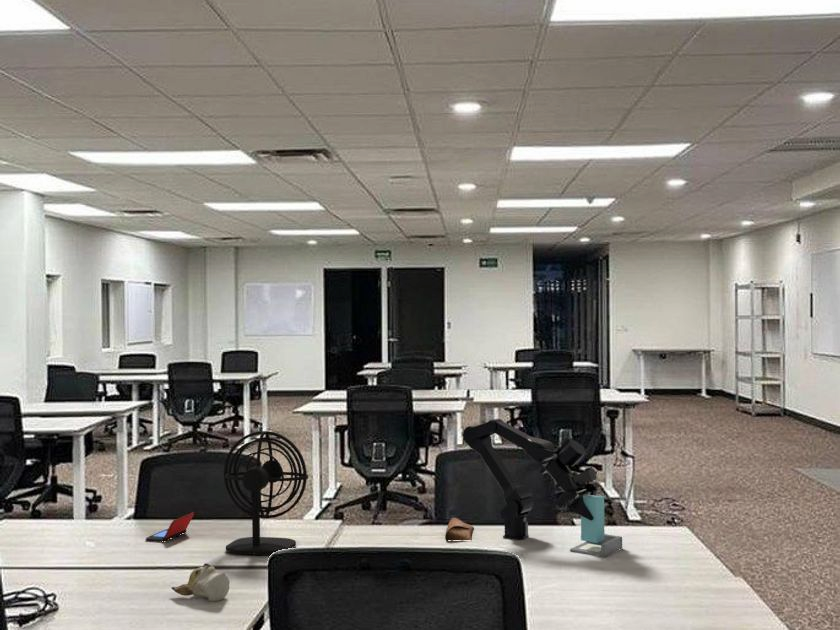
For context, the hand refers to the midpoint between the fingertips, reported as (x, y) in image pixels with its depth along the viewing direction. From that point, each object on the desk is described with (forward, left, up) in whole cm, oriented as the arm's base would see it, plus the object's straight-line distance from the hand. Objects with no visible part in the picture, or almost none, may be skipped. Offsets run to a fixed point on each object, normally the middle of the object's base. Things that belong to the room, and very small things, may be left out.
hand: (596, 517), depth 250 cm
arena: (-1, 0, -10) cm, 10 cm away
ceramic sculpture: (-81, -77, -10) cm, 112 cm away
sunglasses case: (-45, +4, -10) cm, 46 cm away
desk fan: (-94, -33, -10) cm, 100 cm away
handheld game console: (-130, -33, -10) cm, 134 cm away
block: (-1, 0, -7) cm, 7 cm away
